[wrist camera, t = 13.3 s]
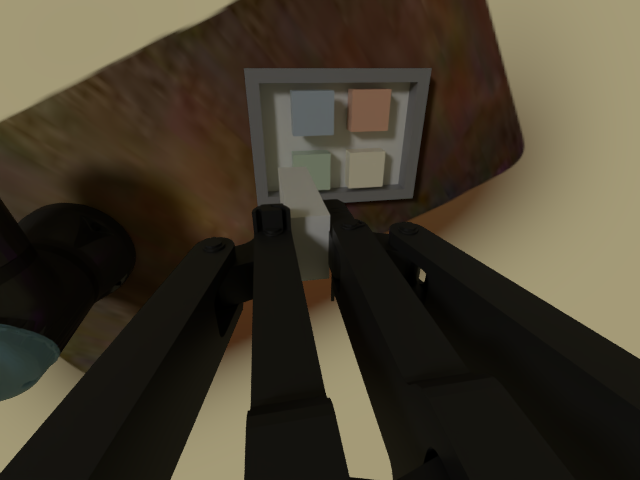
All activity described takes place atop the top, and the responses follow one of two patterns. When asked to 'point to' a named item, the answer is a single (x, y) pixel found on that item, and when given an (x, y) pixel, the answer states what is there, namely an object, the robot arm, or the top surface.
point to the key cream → (364, 167)
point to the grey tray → (336, 127)
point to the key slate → (312, 112)
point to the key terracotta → (368, 109)
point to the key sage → (315, 166)
